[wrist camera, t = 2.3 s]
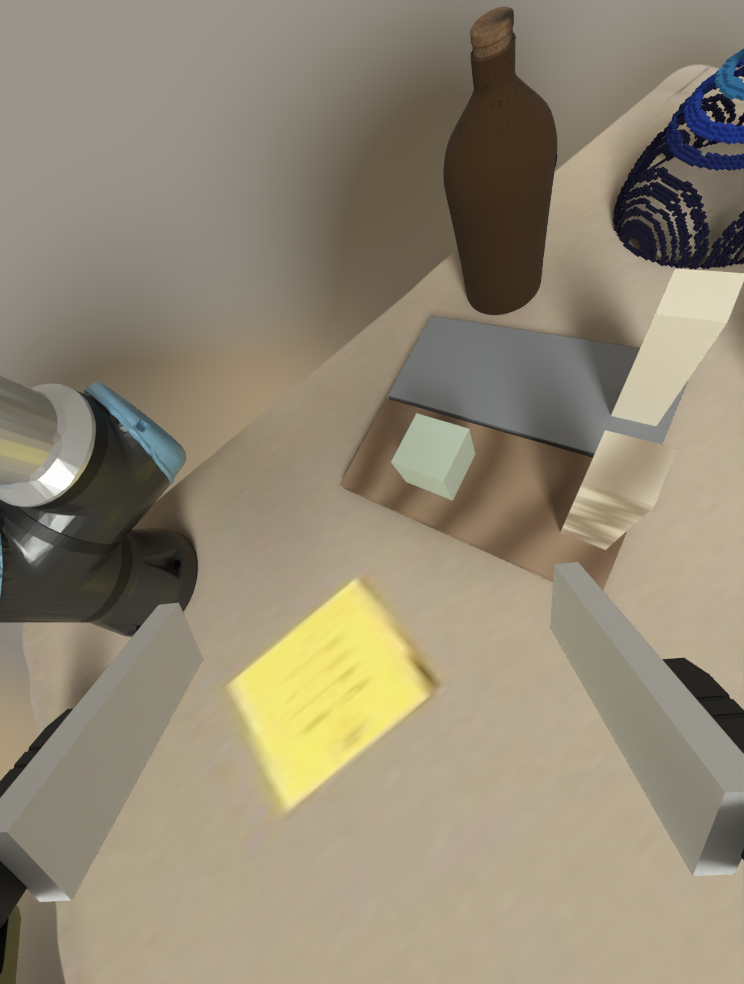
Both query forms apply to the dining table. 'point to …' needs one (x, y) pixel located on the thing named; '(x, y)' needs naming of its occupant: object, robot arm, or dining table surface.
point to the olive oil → (500, 174)
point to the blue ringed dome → (692, 156)
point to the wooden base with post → (522, 493)
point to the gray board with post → (570, 370)
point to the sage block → (435, 455)
